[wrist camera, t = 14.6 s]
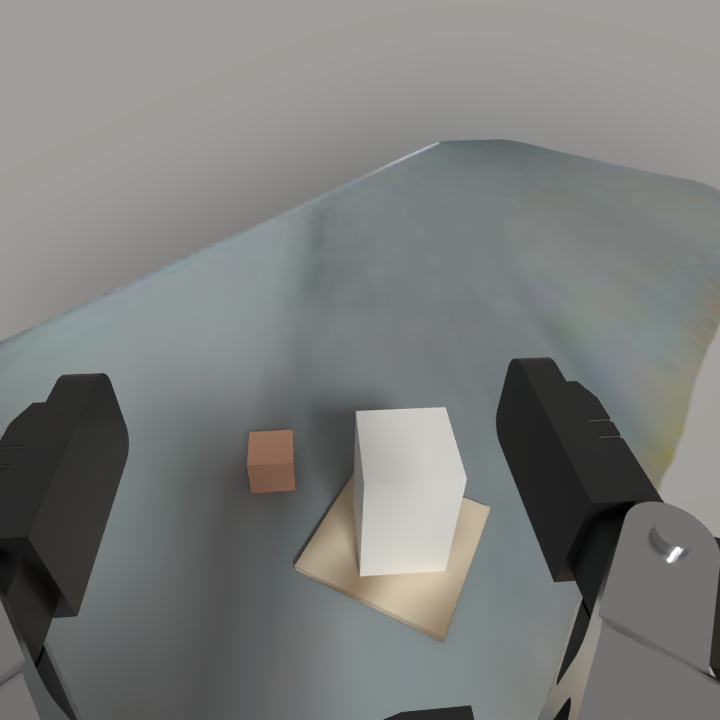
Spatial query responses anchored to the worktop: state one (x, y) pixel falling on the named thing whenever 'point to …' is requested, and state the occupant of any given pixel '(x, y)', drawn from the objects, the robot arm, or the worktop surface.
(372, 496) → the white rectangular block
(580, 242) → the worktop surface
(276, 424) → the worktop surface
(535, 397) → the robot arm
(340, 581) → the cork mat
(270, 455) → the block
